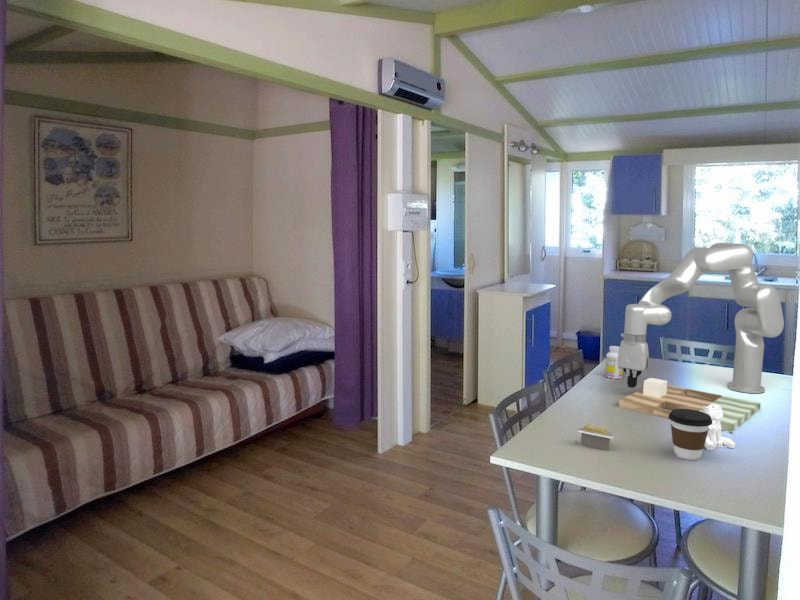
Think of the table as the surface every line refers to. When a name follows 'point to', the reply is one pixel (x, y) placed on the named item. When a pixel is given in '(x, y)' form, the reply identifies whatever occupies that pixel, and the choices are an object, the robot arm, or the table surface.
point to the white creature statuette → (716, 429)
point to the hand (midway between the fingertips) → (631, 386)
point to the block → (655, 387)
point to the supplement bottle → (613, 363)
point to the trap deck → (692, 405)
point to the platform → (595, 437)
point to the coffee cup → (689, 432)
